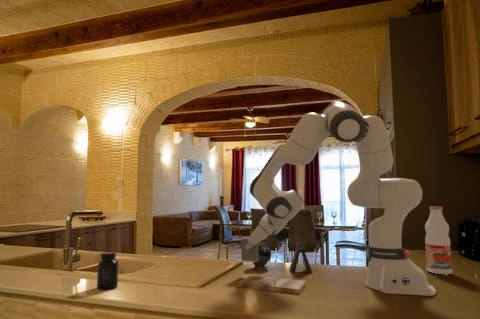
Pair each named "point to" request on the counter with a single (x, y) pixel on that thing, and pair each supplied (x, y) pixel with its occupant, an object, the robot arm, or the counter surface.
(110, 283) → the supplement bottle
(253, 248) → the sanding block
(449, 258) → the fruit juice
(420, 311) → the counter surface
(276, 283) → the board
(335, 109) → the robot arm
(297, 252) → the dark brown triangular frame
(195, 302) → the counter surface
